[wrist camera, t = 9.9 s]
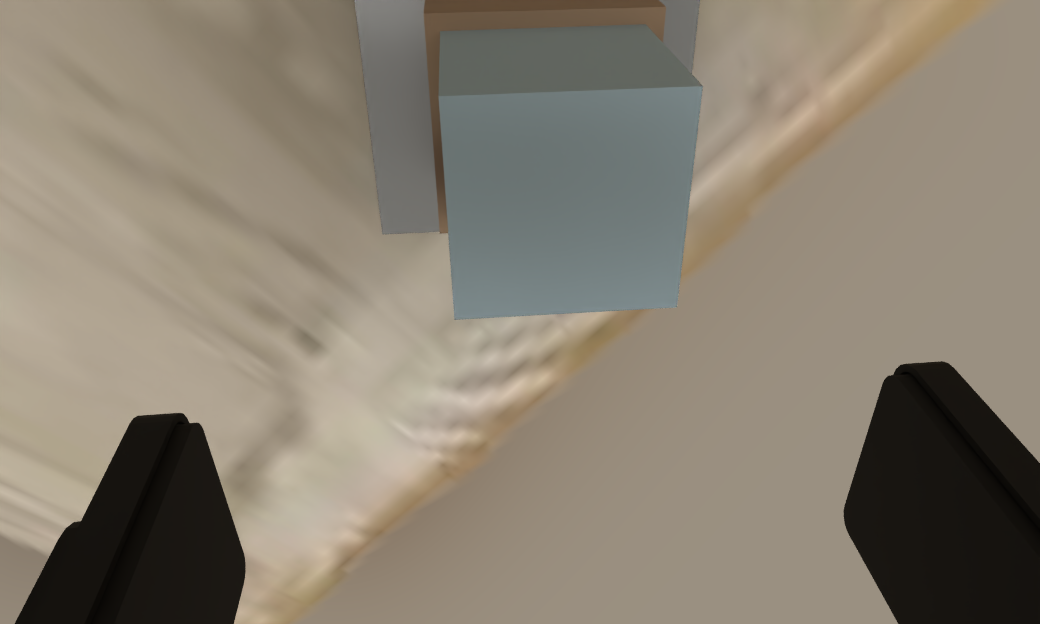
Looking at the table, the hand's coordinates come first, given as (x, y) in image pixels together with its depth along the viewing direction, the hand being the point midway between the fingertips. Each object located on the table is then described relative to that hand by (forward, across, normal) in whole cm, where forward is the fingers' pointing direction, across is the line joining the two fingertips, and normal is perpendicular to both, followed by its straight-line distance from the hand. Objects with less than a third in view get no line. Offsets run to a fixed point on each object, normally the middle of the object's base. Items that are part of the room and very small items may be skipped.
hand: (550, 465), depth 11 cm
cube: (+15, -2, +1) cm, 15 cm away
